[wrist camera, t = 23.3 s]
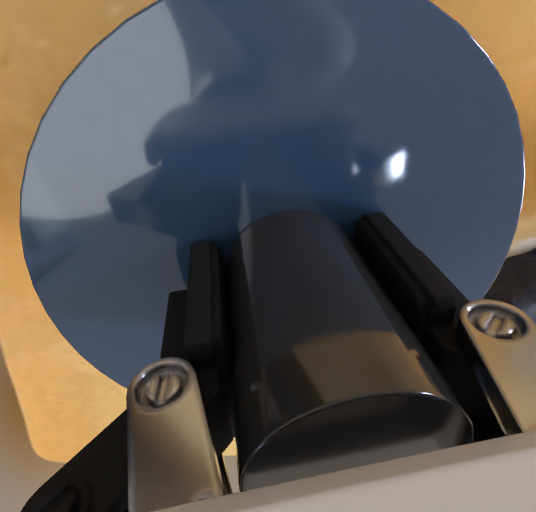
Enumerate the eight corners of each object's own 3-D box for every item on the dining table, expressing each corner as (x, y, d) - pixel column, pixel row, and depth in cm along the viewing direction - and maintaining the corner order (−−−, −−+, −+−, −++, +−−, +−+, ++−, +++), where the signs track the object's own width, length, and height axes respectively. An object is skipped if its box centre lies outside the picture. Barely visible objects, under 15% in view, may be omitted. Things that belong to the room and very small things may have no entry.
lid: (-91, 16, 8) (-1131, -10, 2) (565, -68, 8) (1408, -283, 3) (131, 423, 16) (84, 669, 10) (457, 359, 16) (600, 549, 10)
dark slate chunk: (445, 425, 42) (470, 467, 38) (412, 294, 30) (442, 335, 26) (579, 377, 41) (619, 416, 37) (599, 218, 29) (661, 250, 25)
